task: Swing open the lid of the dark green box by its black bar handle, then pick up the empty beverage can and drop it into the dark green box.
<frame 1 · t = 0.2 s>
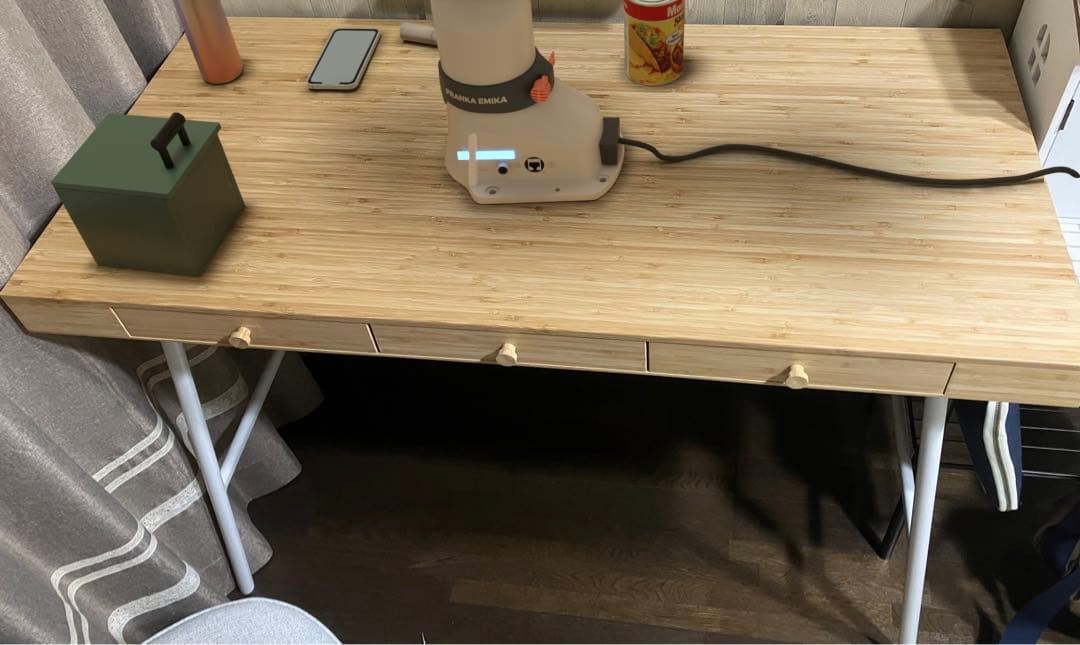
bin lid: (131, 139, 111), point 14 cm above the table, hinge at 0.0°
canned food: (653, 70, 137), on the table
rod: (441, 45, 146), on the table
beverage can: (223, 74, 145), on the table
smartphone: (345, 61, 145), on the table
dark green box: (173, 234, 122), on the table
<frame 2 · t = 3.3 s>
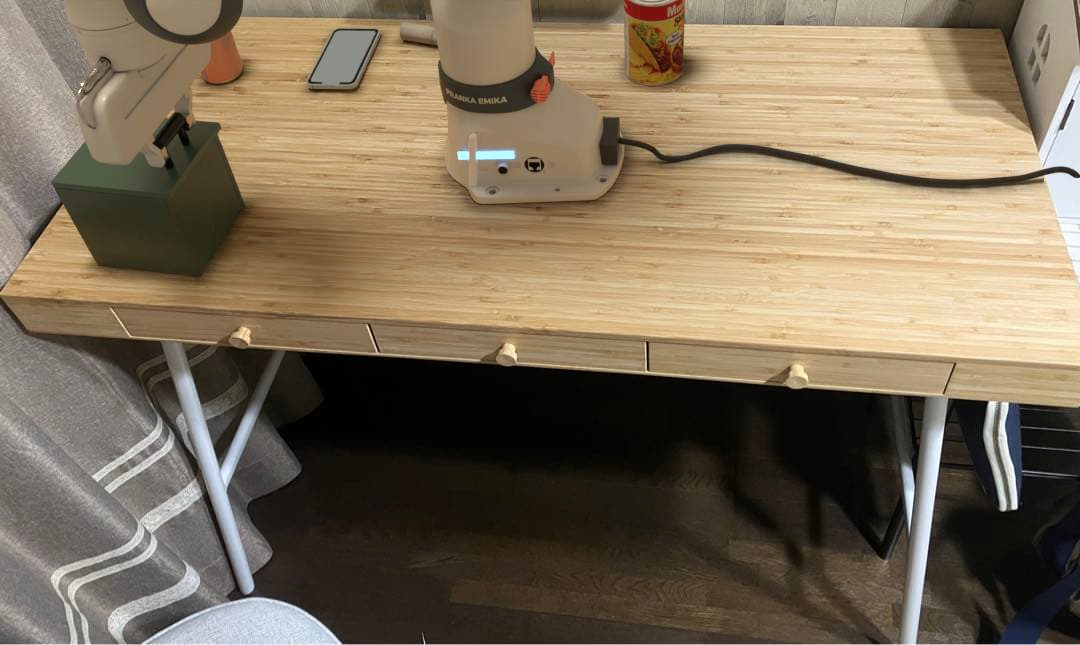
hand: (174, 144, 110), 14 cm above the table, tool pointing down, fingers closed on bin lid, 5 cm apart
bin lid: (131, 139, 111), point 14 cm above the table, hinge at -0.1°, touching gripper
everything else where it was.
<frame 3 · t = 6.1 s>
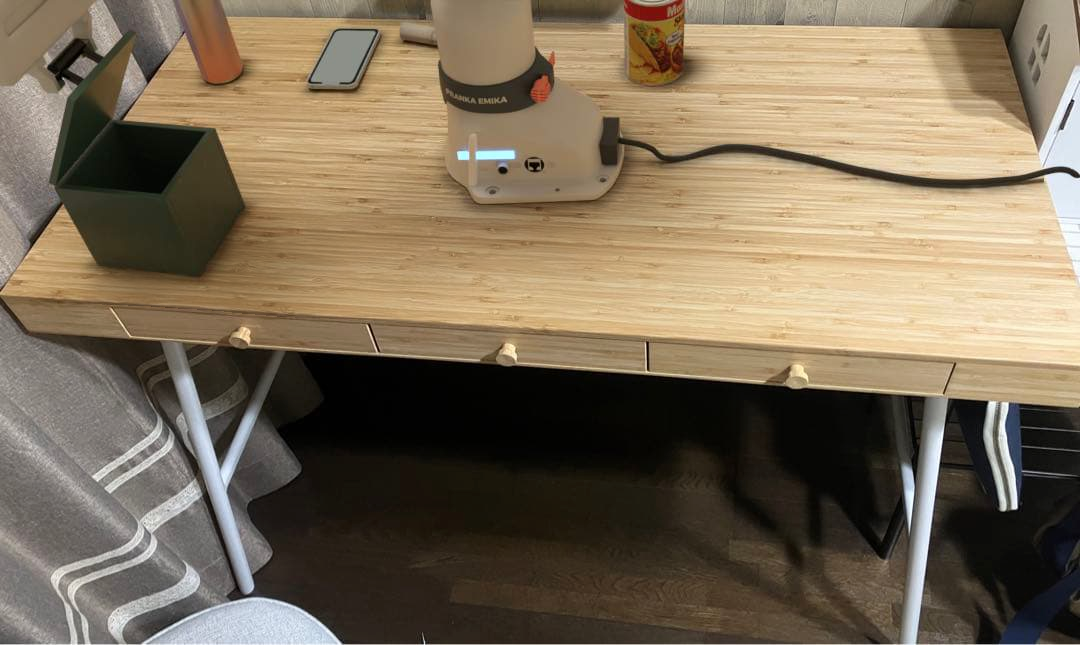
hand: (72, 71, 106), 23 cm above the table, tool pointing down, fingers closed on bin lid, 5 cm apart
bin lid: (74, 98, 109), point 19 cm above the table, hinge at 55.5°, touching gripper
everything else where it was.
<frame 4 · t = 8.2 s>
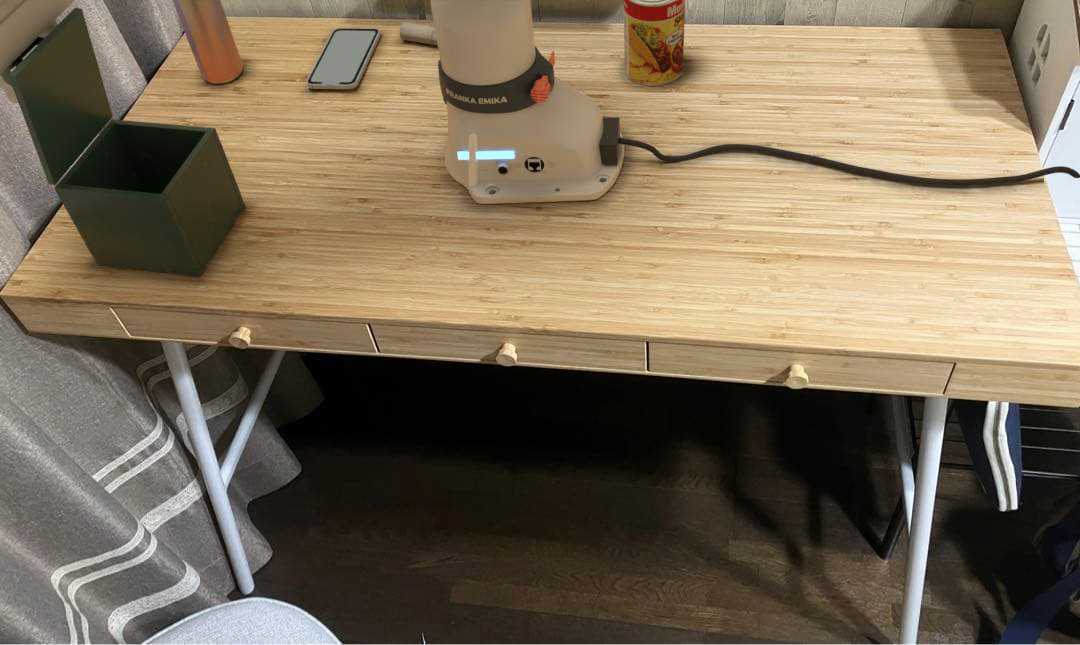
hand: (38, 81, 108), 21 cm above the table, tool pointing down, fingers open, 5 cm apart
bin lid: (47, 93, 109), point 20 cm above the table, hinge at 79.9°
everything else where it was.
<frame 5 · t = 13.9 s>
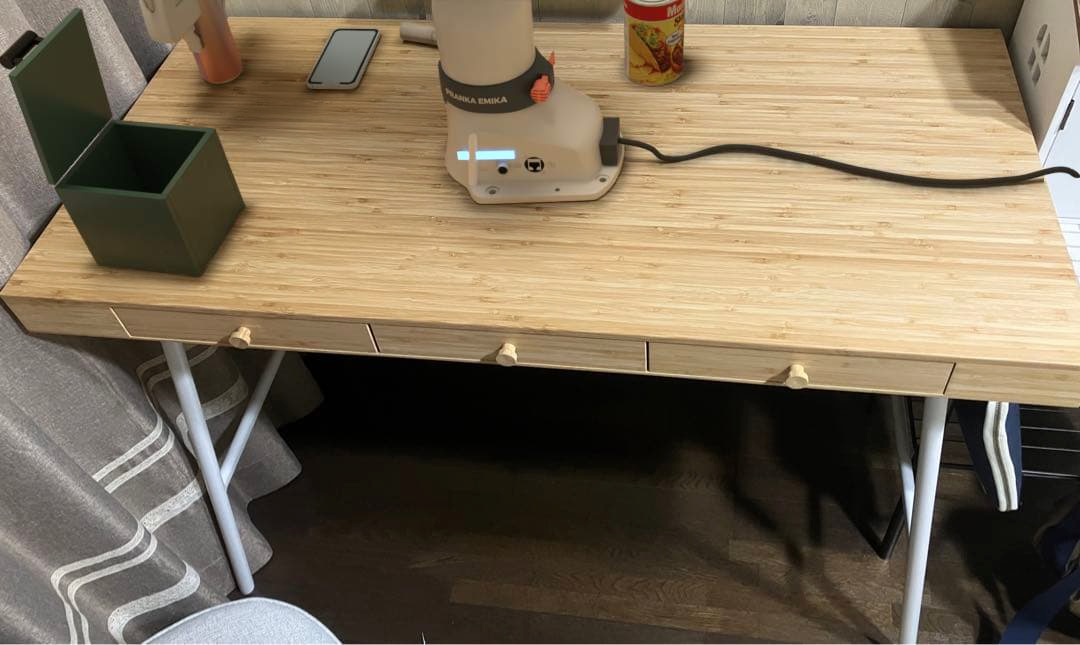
hand: (210, 35, 141), 6 cm above the table, tool pointing down, fingers closed on beverage can, 6 cm apart
beverage can: (223, 74, 145), on the table, touching gripper
everything else where it was.
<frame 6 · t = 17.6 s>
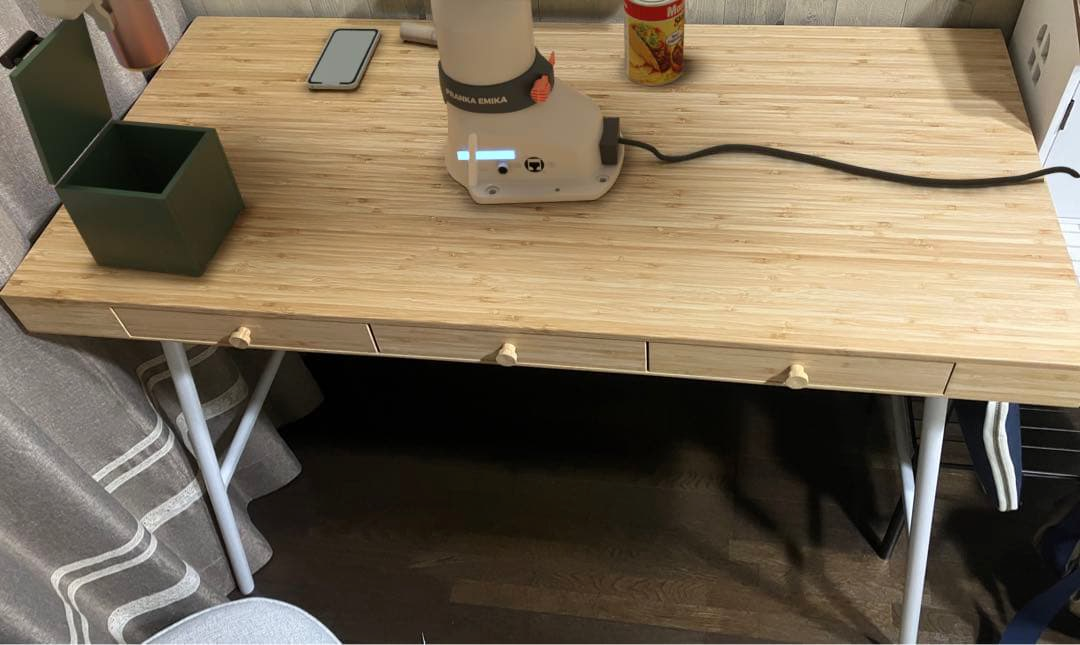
hand: (125, 11, 113), 23 cm above the table, tool pointing down, fingers closed on beverage can, 6 cm apart
bin lid: (47, 93, 109), point 20 cm above the table, hinge at 79.7°, touching gripper
beverage can: (146, 60, 118), point 17 cm above the table, touching gripper
everything else where it was.
when the fingers open (15 cm above the table, at t = 21.2 s): beverage can drops 8 cm, resting on dark green box.
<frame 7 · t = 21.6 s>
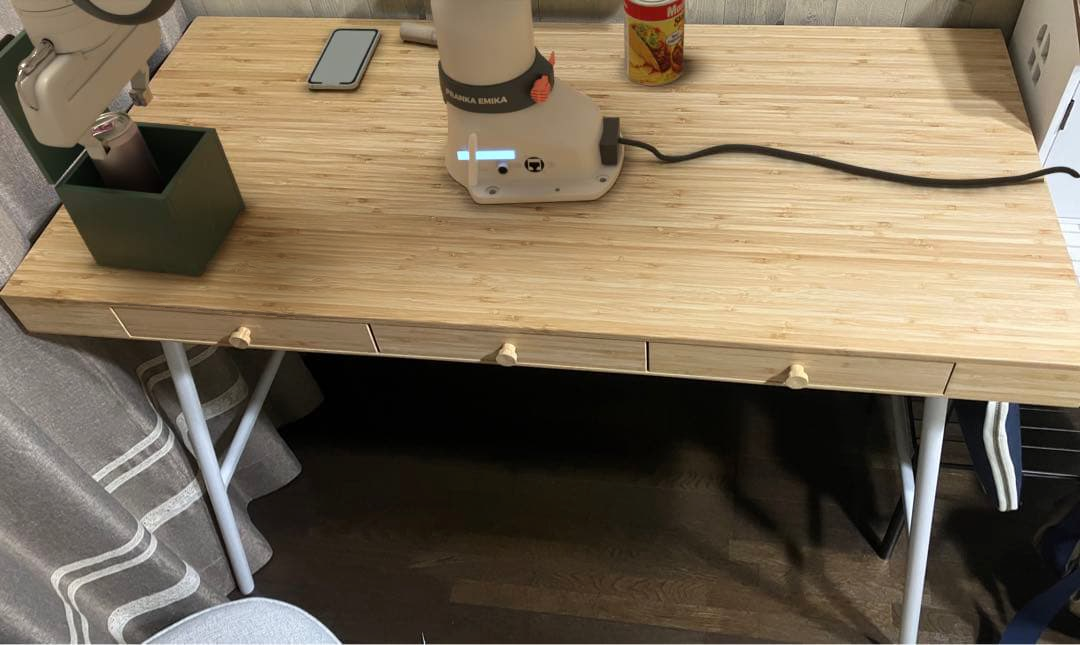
hand: (123, 128, 110), 16 cm above the table, tool pointing down, fingers open, 8 cm apart
bin lid: (36, 95, 110), point 19 cm above the table, hinge at 92.7°
beverage can: (160, 230, 121), point 1 cm above the table, touching dark green box
everything else where it was.
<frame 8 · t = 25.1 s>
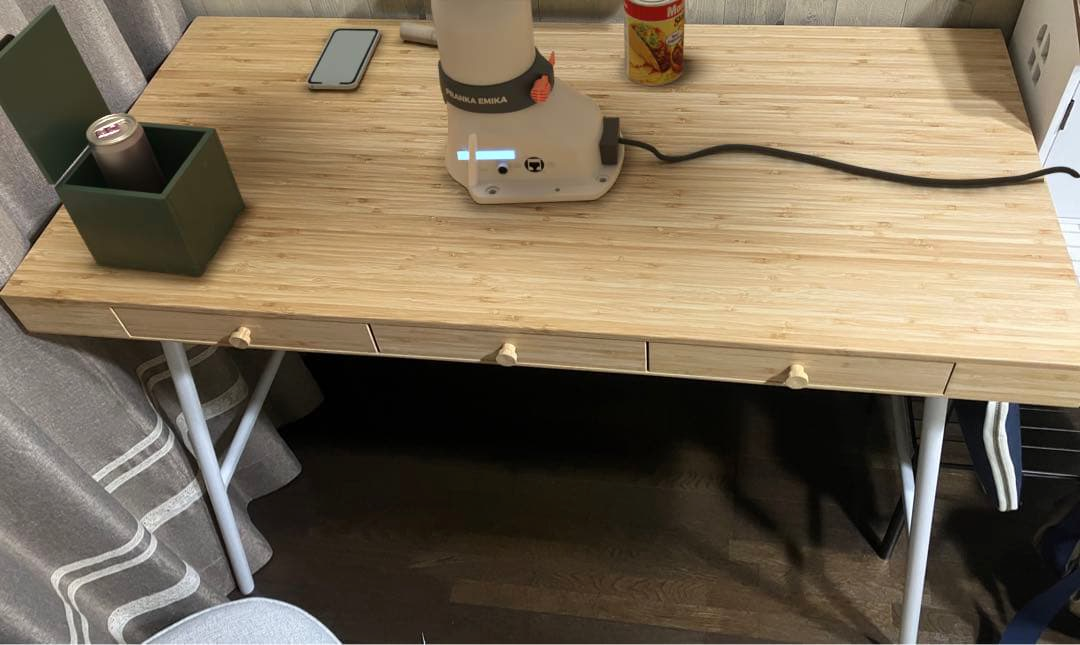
nothing on the table moved.
at the end: bin lid at +93° (first picture: +0°); beverage can inside the target area in the dark green box (1.3 cm from its centre), point 0.6 cm above the dark green box's base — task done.
